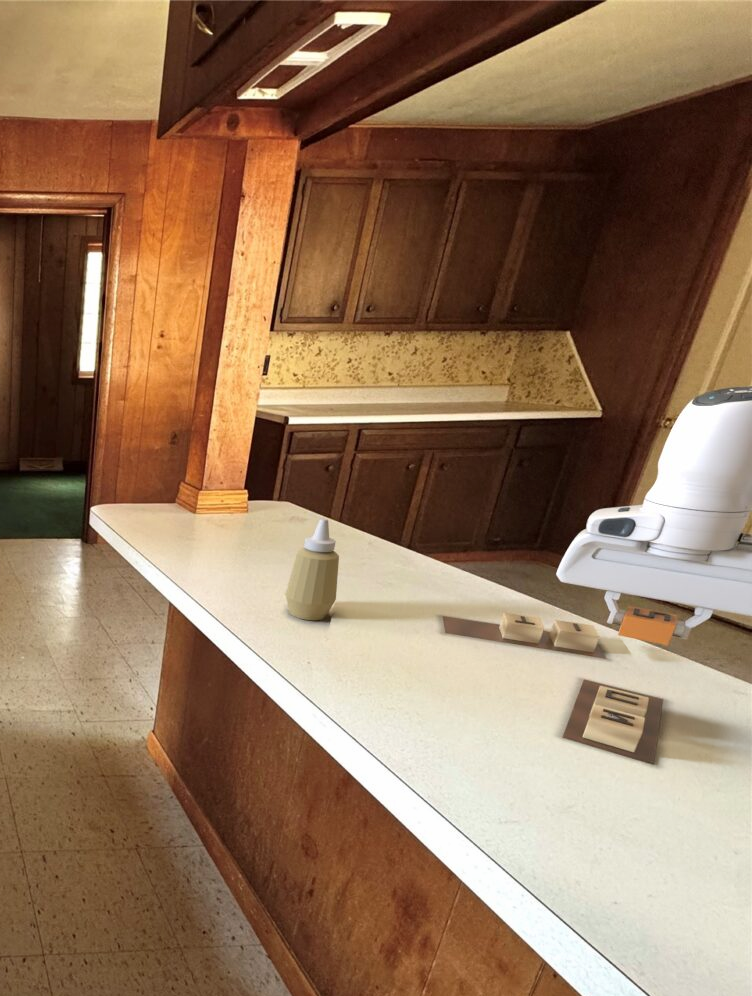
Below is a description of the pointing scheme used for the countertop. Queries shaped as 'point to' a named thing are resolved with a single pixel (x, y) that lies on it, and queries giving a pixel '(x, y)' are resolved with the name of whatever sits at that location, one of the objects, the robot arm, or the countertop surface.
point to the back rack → (531, 633)
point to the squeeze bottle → (314, 576)
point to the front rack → (615, 721)
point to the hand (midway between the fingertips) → (645, 629)
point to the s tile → (648, 625)
